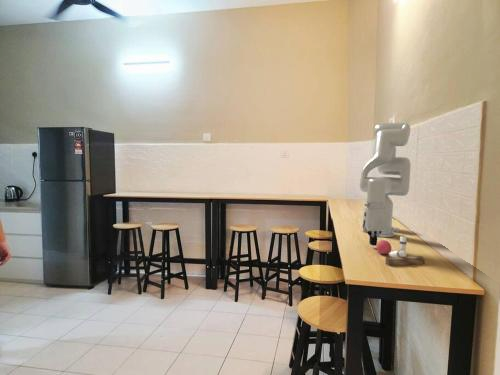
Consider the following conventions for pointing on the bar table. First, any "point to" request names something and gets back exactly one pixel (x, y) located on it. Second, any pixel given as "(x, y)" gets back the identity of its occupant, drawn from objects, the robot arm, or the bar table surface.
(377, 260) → the bar table surface
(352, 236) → the bar table surface
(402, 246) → the rear pin
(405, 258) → the wall
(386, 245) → the ball
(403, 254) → the front pin
